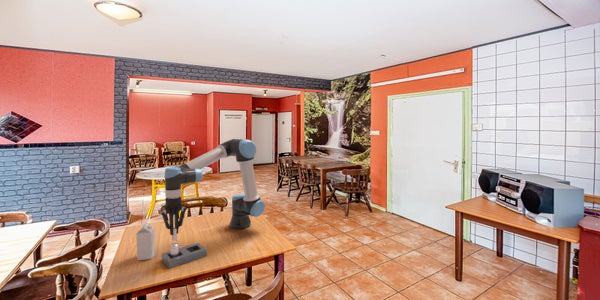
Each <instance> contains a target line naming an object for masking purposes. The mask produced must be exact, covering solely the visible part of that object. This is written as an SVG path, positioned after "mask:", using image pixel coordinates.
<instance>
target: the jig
mask: <svg viewBox="0 0 600 300" xmlns="http://www.w3.org/2000/svg"><path fill="white" fill-rule="evenodd" d="M207 256H208V249H207V248H205V247H204V246H203V245H201V243H199V242H196V243H193V244H189V245H186V246H182V247H179V256H178V257H174V258H170V250H169V251H166V252H163V253H161V261H162V262H163V263H164V264H165V265H166V266H167V268H168V269H172V268H175V267H178V266H181V265H184V264H187V263H190V262H192V261H193V262H194V261H195V260H198V259H200V258H201V259H202V258H204V257H207Z"/></svg>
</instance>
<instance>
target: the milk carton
mask: <svg viewBox="0 0 600 300" xmlns="http://www.w3.org/2000/svg"><path fill="white" fill-rule="evenodd" d="M155 237H156V236H155V227H154V226H153V225H151V224H150V223H148V221H145V223H144V224H143V225H142V227H140V229H139V230H138V231H137V232H136V237H135V238H136V257H137V258H136V260H137V261H145V260H153V258H154V256H155V254H156V240H155V239H156V238H155Z"/></svg>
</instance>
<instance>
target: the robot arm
mask: <svg viewBox="0 0 600 300" xmlns="http://www.w3.org/2000/svg"><path fill="white" fill-rule="evenodd" d="M256 154H257V146H256V144H255V143H254V141H252V140H250V139H246V138H244V139H241V138H232V139H229V140H227V141H224V142H223V143H220V144H218V145H217V146H216V148H213V149H211V150H209V151H208V152H206V153H204V154H201V155H199V156H197V157H195V158H193V159H191V160H190V161H187V162H185V163H183V164H181V165H179V166H177V165H176V166H175V165H174V166H171V167H170V166H169V167H166V168H165V169H164V186H165V187H164V193H165V195H164V197H165V207H164V209H163V210H162V211H160V213H159V214H160V215H161V216H162V219H163V221H164V226H165V228H166V229H167V230H169V234H170V236H171V240H172V241H173V242H177V241H178V236H177V235H178V234H179V229H180V227H182V226H183V223H184V218H185V213H186V212H187V210H188V209H187V207H185V206H183V205H182V197H181V196H182V185H186V184H194V183H198V182H199V183H200V182H201V181H202V180H203V177H204V176H203V171H202V169H203V168H206V167H209V166H210V165H212V164H213V163H215V162H218V161H219V160H222V159H226V158H229V157H235V160H236V162H237V163H238V164H239V169H240V175H241V181H242V187H243V193H238V194H234V195H233V196H232V200H231V209H232V210H231V213H232V214H231V218H230V222H229V228H231V229H233V228H234V229H235V230H243V229H242V228H244V229H247V228H246V227H248V226H250V225H251V226H252V222H251V218H250V217H254V218H256V217H257V218H258V217H260V216H261V215H262V214H263V213H264V211H265V209H266V208H265V207H266V204H265V201H263V200H262V199H261V195H260V194H259V193H258V189H257V182H256V177H255V176H256V175H255V170H254V164H253V160H254V159H255V156H256ZM166 214H168V217H169V219H168V217H167V215H166ZM168 220H169V221H168ZM251 226H250V227H251ZM248 228H249V227H248ZM234 229H233V230H234Z"/></svg>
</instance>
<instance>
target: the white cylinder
mask: <svg viewBox="0 0 600 300" xmlns="http://www.w3.org/2000/svg"><path fill="white" fill-rule="evenodd" d="M179 248H180V244H179V242H178V243H177V242H174V243H171V244H169V251H170V258H174V257H178V256H179Z"/></svg>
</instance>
